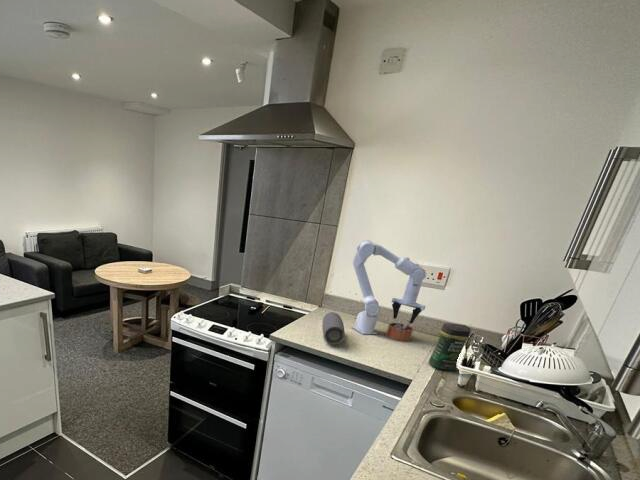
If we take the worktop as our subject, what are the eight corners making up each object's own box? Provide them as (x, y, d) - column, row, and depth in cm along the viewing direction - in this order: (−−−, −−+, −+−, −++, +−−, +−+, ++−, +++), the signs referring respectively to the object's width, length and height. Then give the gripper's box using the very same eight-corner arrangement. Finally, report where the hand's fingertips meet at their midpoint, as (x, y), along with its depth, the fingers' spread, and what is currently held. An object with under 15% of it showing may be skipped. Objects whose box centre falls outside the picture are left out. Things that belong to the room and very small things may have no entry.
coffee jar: (434, 370, 156) (450, 326, 149) (425, 361, 163) (440, 319, 156) (459, 372, 156) (476, 329, 148) (448, 364, 163) (464, 322, 156)
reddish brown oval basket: (407, 343, 183) (411, 332, 181) (383, 336, 189) (386, 326, 186) (412, 335, 194) (416, 325, 191) (389, 330, 199) (392, 319, 197)
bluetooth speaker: (319, 329, 192) (323, 309, 188) (339, 332, 190) (344, 312, 186) (320, 345, 172) (325, 323, 168) (342, 348, 170) (348, 327, 166)
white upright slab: (391, 334, 191) (394, 318, 189) (393, 333, 192) (396, 317, 190) (405, 337, 186) (409, 321, 183) (407, 337, 187) (411, 321, 184)
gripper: (392, 290, 183) (384, 317, 189) (424, 298, 174) (415, 326, 179) (398, 288, 188) (390, 315, 193) (430, 296, 178) (421, 324, 183)
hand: (402, 320), depth 187 cm, fingers open, 7 cm apart
